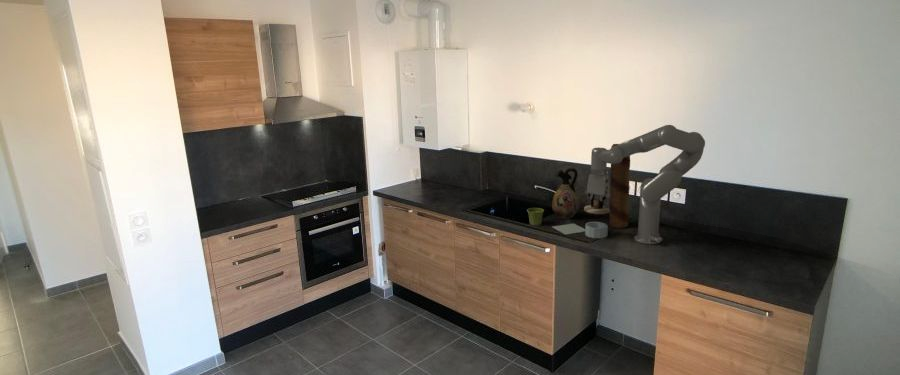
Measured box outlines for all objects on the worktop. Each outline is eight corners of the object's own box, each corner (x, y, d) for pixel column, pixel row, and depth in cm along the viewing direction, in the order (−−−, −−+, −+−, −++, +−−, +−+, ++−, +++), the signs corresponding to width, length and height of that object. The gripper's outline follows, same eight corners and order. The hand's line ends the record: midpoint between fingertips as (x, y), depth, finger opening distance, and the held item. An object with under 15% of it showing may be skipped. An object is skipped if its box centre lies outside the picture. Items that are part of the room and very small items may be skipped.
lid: (614, 212, 251) (615, 201, 250) (593, 215, 247) (594, 204, 246) (599, 206, 262) (600, 195, 261) (579, 208, 258) (579, 198, 257)
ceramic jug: (551, 221, 285) (552, 170, 278) (551, 213, 300) (552, 164, 293) (582, 221, 282) (584, 170, 275) (580, 214, 297) (581, 164, 290)
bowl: (611, 237, 255) (611, 226, 253) (593, 240, 251) (593, 229, 250) (598, 231, 265) (599, 220, 263) (581, 234, 261) (581, 223, 260)
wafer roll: (603, 224, 277) (607, 143, 267) (619, 221, 280) (623, 142, 270) (615, 229, 267) (619, 146, 257) (631, 226, 270) (636, 144, 260)
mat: (588, 232, 264) (588, 230, 264) (565, 235, 260) (565, 234, 260) (573, 224, 277) (573, 223, 277) (551, 228, 273) (551, 226, 273)
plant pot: (524, 226, 278) (524, 211, 276) (530, 221, 286) (530, 207, 284) (540, 228, 273) (541, 213, 271) (545, 223, 281) (546, 208, 279)
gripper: (617, 173, 247) (615, 208, 251) (587, 169, 258) (585, 203, 263) (610, 175, 242) (608, 211, 246) (579, 171, 253) (578, 206, 257)
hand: (596, 207), depth 254 cm, fingers closed on lid, 3 cm apart
